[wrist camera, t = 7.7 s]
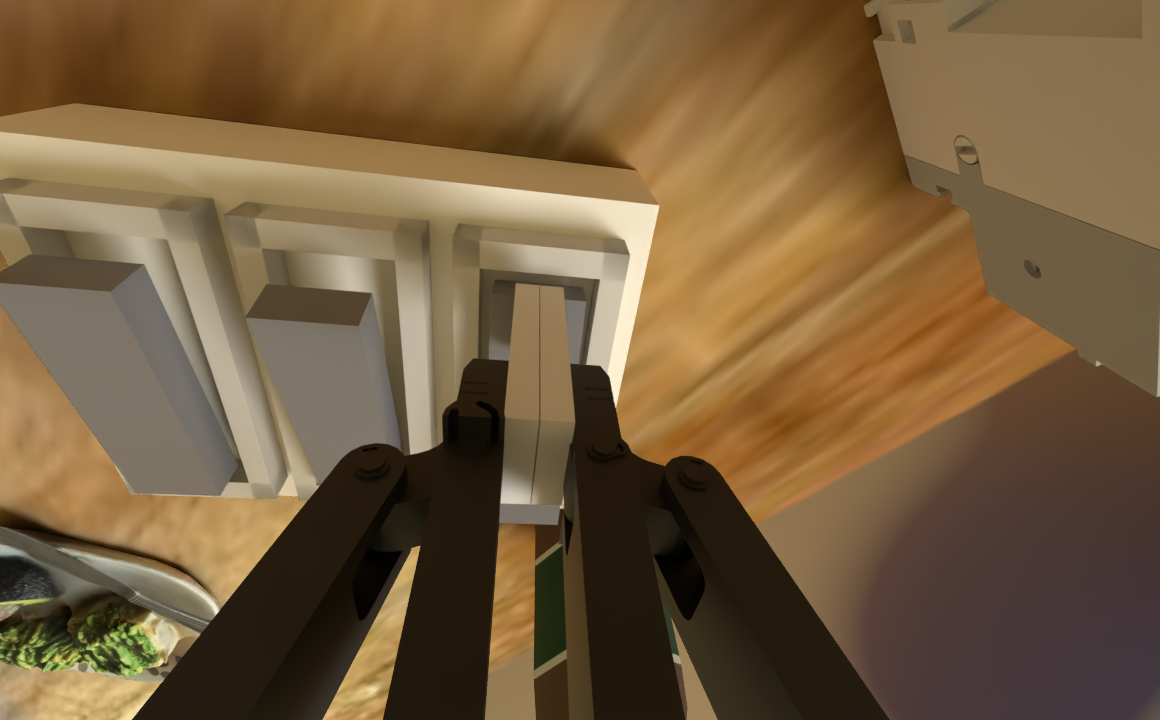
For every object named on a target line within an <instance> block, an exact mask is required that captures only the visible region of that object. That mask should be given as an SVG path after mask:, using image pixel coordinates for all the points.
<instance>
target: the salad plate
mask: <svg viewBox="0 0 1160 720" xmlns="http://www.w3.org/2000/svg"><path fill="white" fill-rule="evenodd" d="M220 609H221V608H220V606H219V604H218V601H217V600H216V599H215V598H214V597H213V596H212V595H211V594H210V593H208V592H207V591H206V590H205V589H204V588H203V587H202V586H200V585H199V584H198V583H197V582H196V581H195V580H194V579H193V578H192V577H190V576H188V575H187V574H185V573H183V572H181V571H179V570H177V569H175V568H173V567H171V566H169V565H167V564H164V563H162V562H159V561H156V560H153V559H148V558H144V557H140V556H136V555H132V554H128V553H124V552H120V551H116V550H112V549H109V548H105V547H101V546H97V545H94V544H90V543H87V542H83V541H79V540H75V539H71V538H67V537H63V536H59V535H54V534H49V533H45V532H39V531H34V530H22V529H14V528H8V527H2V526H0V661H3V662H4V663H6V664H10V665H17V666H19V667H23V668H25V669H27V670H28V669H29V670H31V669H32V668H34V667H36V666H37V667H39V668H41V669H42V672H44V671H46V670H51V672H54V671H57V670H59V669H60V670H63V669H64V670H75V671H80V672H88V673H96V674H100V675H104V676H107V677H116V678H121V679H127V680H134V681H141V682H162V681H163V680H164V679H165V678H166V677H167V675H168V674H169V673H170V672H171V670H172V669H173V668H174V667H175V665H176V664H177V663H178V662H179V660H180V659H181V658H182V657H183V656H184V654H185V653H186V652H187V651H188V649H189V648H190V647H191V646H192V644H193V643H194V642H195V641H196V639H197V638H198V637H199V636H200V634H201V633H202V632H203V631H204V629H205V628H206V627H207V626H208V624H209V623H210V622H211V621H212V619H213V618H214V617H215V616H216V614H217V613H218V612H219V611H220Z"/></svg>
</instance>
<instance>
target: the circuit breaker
mask: <svg viewBox="0 0 1160 720" xmlns="http://www.w3.org/2000/svg"><path fill="white" fill-rule="evenodd" d="M863 7H864V10H865V14H866V17H872V16H873V15H875V14H876V13H877V15H878V19H879V23H880V27H881V31H882V34H881V35H880V36H878V37H877V38H875V39H874V40H873V43H874V47H875V51H876V54H877V58H878V62H879V65H880V69H881V73H882V76H883V80H884V84H885V87H886V91H887V95H888V98H889V102H890V106H891V109H892V113H893V116H894V120H895V124H896V127H897V131H898V135H899V138H900V142H901V146H902V149H903V153H904V154H905V155H904V157H905V160H906V164H907V168H908V171H909V175H910V179H911V182H912V185H913V186H914V187H916V188H918V189H920V190H922V191H925V192H927V193H929V194H931V195H933V196H936V197H938V198H941V197H943V196H945V195H947V194H948V193H952V194H953V195H952V199H951V202H950V203H951V204H953V205H956V206H958V207H960V208H962V209H964V210H967V211H968V212H969V213H970V217H971V222H972V227H973V231H974V236H975V240H976V245H977V250H978V254H979V259H980V263H981V268H982V273H983V277H984V282H985V286H986V291H987V293H988V294H989V295H991V296H992V297H994V298H996V299H997V300H999V301H1001V302H1002V303H1004V304H1005V305H1007V306H1009V307H1010V308H1012V309H1014V310H1015V311H1017V312H1018V313H1020V314H1022V315H1023V316H1025V317H1027V318H1028V319H1030V320H1031V321H1033V322H1035V323H1036V324H1038V325H1040V326H1041V327H1043V328H1044V329H1046V330H1048V331H1049V332H1052V333H1053V334H1054V335H1056V336H1057V337H1059V338H1061V339H1062V340H1064V341H1065V342H1067V343H1069V344H1070V345H1072V346H1074V347H1075V348H1077V349H1078V355H1079V356H1081V357H1082V358H1084V359H1086V360H1087V361H1089V362H1090V363H1092V364H1093V365H1095V366H1098V365H1100V364H1103V365H1105V366H1106V367H1108V368H1109V369H1111V370H1113V371H1114V372H1116V373H1117V374H1119V375H1121V376H1123V377H1124V378H1126V379H1127V380H1129V381H1131V382H1132V383H1134V384H1137V385H1138V386H1139V387H1140V388H1142V389H1144V390H1146V391H1148V392H1149V393H1151V394H1152V395H1154V396H1156V397H1159V396H1160V0H909V1H905V0H871V1H870V2H868V3H867V4H865V5H864V6H863Z"/></svg>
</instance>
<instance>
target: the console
mask: <svg viewBox="0 0 1160 720" xmlns="http://www.w3.org/2000/svg"><path fill="white" fill-rule="evenodd" d="M658 209H659V204H658V203H657V201H656V199H655V198H654V196H653V195H652V193H651V192H650V190H649V188H648V187H647V185H646V184H645V182H644V180H643V179H642V177H641V176H640V174H639V173H638V171H637V170H629V169H621V168H612V167H604V166H596V165H587V164H579V163H571V162H562V161H554V160H546V159H537V158H529V157H521V156H512V155H504V154H496V153H487V152H479V151H471V150H462V149H454V148H446V147H437V146H429V145H421V144H412V143H404V142H396V141H387V140H379V139H371V138H362V137H354V136H346V135H337V134H329V133H321V132H312V131H304V130H296V129H287V128H279V127H271V126H262V125H254V124H246V123H237V122H229V121H221V120H212V119H204V118H196V117H187V116H179V115H171V114H162V113H154V112H146V111H137V110H129V109H121V108H112V107H104V106H96V105H87V104H79V103H74V104H68V105H62V106H57V107H51V108H46V109H40V110H35V111H29V112H24V113H18V114H13V115H7V116H1V117H0V251H1V253H2V255H3V257H4V259H5V260H6V262H7V264H8V266H11V265H13V264H14V263H16V262H18V261H19V260H21V259H22V258H24V257H26V256H27V255H29V254H31V255H43V256H55V257H66V258H78V259H90V260H101V261H113V262H125V263H136V264H144V265H145V267H146V269H147V271H148V274H149V276H150V278H151V280H152V282H153V284H154V286H155V289H156V291H157V293H158V295H159V297H160V299H161V301H162V303H163V306H164V308H165V310H166V312H167V314H168V316H169V318H170V320H171V323H172V325H173V327H174V329H175V331H176V333H177V335H178V338H179V340H180V342H181V344H182V346H183V348H184V350H185V352H186V355H187V357H188V359H189V361H190V363H191V365H192V367H193V370H194V372H195V374H196V376H197V378H198V380H199V382H200V384H201V387H202V389H203V391H204V393H205V395H206V397H207V399H208V401H209V404H210V406H211V408H212V410H213V412H214V414H215V416H216V419H217V421H218V423H219V425H220V427H221V429H222V431H223V433H224V436H225V438H226V440H227V442H228V444H229V446H230V448H231V451H232V453H233V455H234V457H235V459H236V461H237V463H238V467H237V468H236V470H235V472H234V473H233V475H232V477H231V479H230V480H229V482H228V484H227V485H226V487H225V489H224V491H223V492H222V494H221V496H205V495H176V494H146V493H135V492H134V490H133V489H132V487H131V486H130V485H129V483H128V482H127V480H126V479H125V478H124V476H123V475H122V473H121V472H120V471H119V469H118V468H117V466H116V465H115V464H114V465H115V467H116V469H117V471H118V472H119V474H120V476H121V478H122V480H123V482H124V484H125V486H126V487H127V489H128V491H129V493H130V494H141V495H170V496H200V497H229V498H258V499H276V498H277V496H278V495H283V496H298V498H299V500H309V499H310V497H311V496H312V495H313V494H314V492H315V491H316V490H317V489H318V487H319V484H318V481H317V479H316V477H315V475H314V472H313V470H312V468H311V466H310V463H309V461H308V459H307V457H306V454H305V452H304V450H303V448H302V445H301V443H300V441H299V439H298V436H297V434H296V432H295V430H294V427H293V425H292V423H291V421H290V418H289V416H288V414H287V412H286V409H285V407H284V405H283V403H282V400H281V398H280V396H279V394H278V391H277V389H276V387H275V385H274V382H273V380H272V378H271V375H270V373H269V371H268V369H267V366H266V364H265V362H264V360H263V357H262V355H261V353H260V351H259V348H258V346H257V344H256V342H255V339H254V337H253V335H252V333H251V330H250V328H249V326H248V324H247V321H246V319H245V317H246V315H247V313H248V312H249V310H250V309H251V307H252V306H253V304H254V303H255V301H256V299H257V298H258V296H259V295H260V293H261V292H262V290H263V289H264V287H265V286H266V284H271V285H283V286H295V287H307V288H319V289H331V290H343V291H355V292H367V293H372V295H373V300H374V305H375V311H376V316H377V321H378V326H379V331H380V336H381V341H382V346H383V351H384V356H385V361H386V367H387V372H388V377H389V382H390V387H391V392H392V397H393V402H394V407H395V412H396V417H397V423H398V428H399V433H400V438H401V443H402V448H403V453H404V456H406V455H411V454H416V453H420V452H424V451H427V450H430V449H432V448H434V447H436V446H438V445H439V444H440V443H442V442H443V430H442V414H443V412H444V411H445V409H446V407H448V406H449V405H450V404H452V403H453V402H454V401H457V397H458V394H459V388H460V383H461V378H462V374H463V369H464V368H465V367H466V366H467V365H468V364H469V362H470V361H471V360H472V359H473V358H476V359H489V341H490V319H491V297H492V290H493V286H494V282H495V280H506V281H517V282H528V283H539V284H550V285H562V286H573V287H583V291H584V294H585V298H586V301H587V302H586V310H585V318H584V326H583V333H582V341H581V349H580V357H579V364H583V365H597V366H601V367H602V368H603V370H604V371H605V372H606V373H607V374H608V376H609V377H610V382H611V387H612V392H613V398H614V403H615V408H616V405H617V400H618V395H619V391H620V386H621V381H622V377H623V372H624V367H625V363H626V358H627V353H628V349H629V344H630V340H631V335H632V330H633V326H634V321H635V316H636V312H637V307H638V302H639V298H640V293H641V288H642V284H643V279H644V274H645V270H646V265H647V260H648V256H649V251H650V247H651V242H652V237H653V233H654V228H655V223H656V219H657V214H658ZM113 463H114V462H113ZM560 509H564V495H563V501H562V505H560Z"/></svg>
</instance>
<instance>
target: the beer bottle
mask: <svg viewBox="0 0 1160 720" xmlns="http://www.w3.org/2000/svg"><path fill="white" fill-rule="evenodd" d="M563 514H564V509H560V512H559V519H558V525H545V524H536V539H535V626H534V690H535V707H536V720H569V702H568V675H567V648H566V622H565V595H564V569H563V544H559V538H560V532H561V526H562V520H563ZM660 596H661V601H662V606H663V611H664V615H665V620H666V625H667V630H668V635H669V640H670V645H671V650H672V655H673V660H674V665H675V670H676V675H677V680H678V685H679V690H680V694H681V699H682V704H683V709H684V714H685V719H687V702H686V696H685V688H684V681H683V675H682V668H681V662H680V658H679V653H678V648H677V643H676V639H675V634H674V629H673V625H672V621H671V616H670V613H669V611H668V608H667V606H666V604H665V602H664V600H663V597H662V595H661V593H660Z"/></svg>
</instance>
